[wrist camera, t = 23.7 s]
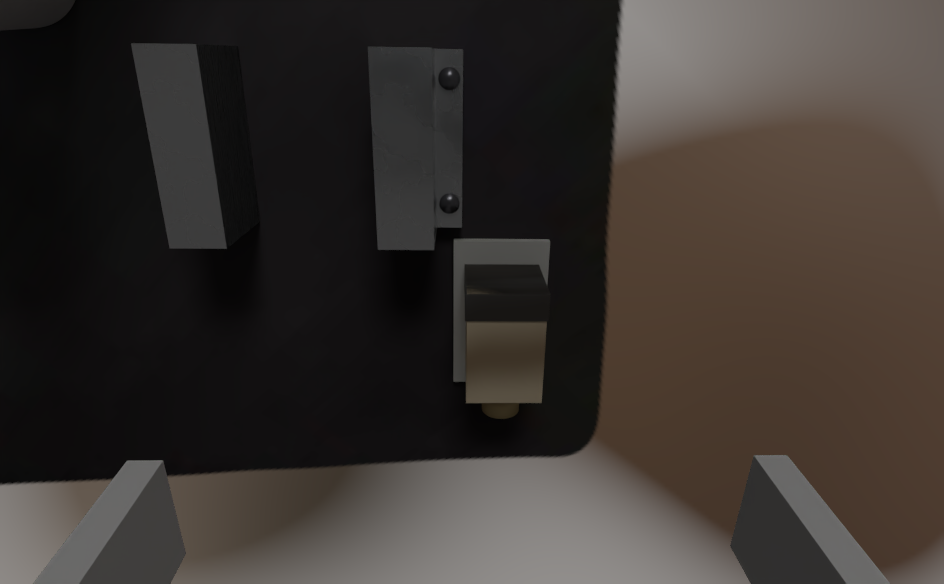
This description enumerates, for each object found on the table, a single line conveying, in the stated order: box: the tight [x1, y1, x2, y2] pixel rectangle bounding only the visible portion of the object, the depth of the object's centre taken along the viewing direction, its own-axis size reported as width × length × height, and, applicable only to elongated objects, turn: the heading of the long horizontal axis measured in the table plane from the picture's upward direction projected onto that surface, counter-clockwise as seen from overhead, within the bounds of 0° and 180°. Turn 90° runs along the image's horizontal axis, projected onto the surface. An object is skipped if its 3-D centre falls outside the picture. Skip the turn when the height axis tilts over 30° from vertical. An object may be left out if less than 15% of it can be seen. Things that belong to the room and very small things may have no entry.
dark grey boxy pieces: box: [131, 43, 463, 250], centre depth 32 cm, size 10×17×6 cm, turn 89°
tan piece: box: [464, 264, 551, 419], centre depth 36 cm, size 9×5×5 cm, turn 0°
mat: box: [453, 239, 550, 382], centre depth 38 cm, size 10×6×1 cm, turn 179°
